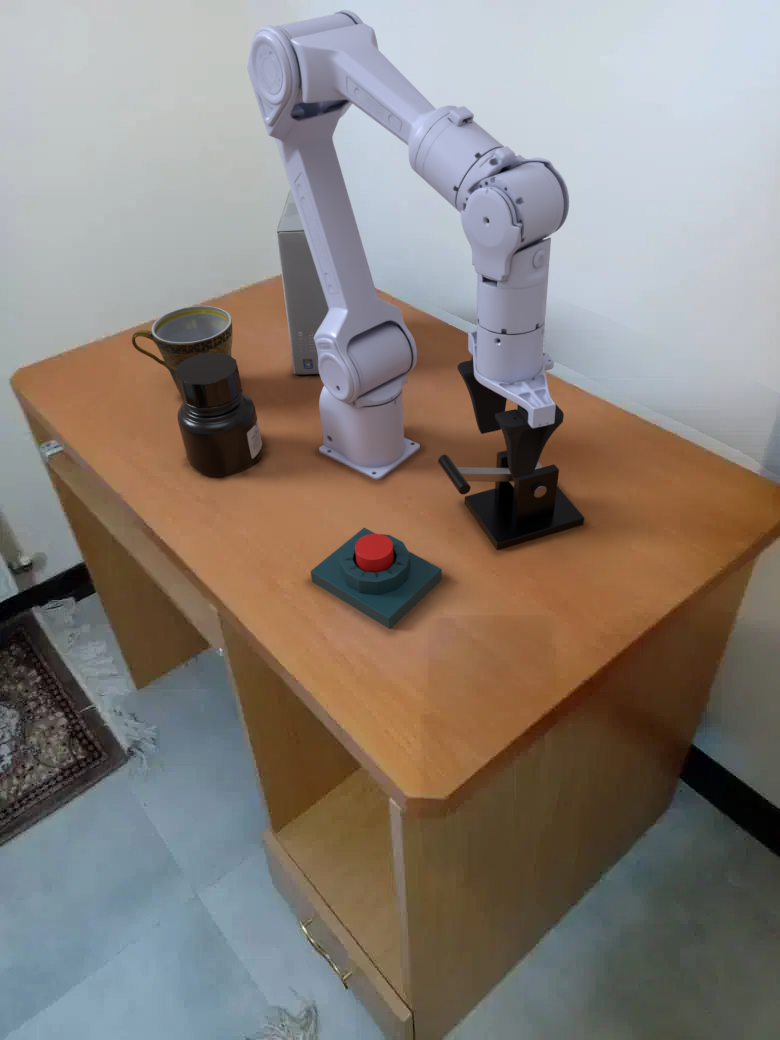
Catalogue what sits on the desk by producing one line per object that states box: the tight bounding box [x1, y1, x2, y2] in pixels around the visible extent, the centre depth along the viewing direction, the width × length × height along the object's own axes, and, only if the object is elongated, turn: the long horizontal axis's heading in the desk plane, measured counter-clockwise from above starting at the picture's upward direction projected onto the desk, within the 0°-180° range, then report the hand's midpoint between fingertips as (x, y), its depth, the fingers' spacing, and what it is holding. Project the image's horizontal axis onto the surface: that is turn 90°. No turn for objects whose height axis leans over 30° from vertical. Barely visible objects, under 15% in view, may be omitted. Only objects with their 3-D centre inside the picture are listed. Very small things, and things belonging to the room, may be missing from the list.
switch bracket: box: [464, 449, 585, 551], centre depth 82 cm, size 10×8×7 cm
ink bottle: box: [175, 353, 263, 477], centre depth 91 cm, size 10×9×12 cm
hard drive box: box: [276, 188, 329, 376], centre depth 107 cm, size 16×8×20 cm, turn 179°
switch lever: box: [437, 454, 543, 496], centre depth 79 cm, size 10×5×2 cm, turn 111°
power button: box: [355, 533, 394, 573], centre depth 75 cm, size 4×4×2 cm
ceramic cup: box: [131, 305, 233, 396], centre depth 102 cm, size 13×10×10 cm
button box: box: [310, 527, 443, 630], centre depth 77 cm, size 10×8×4 cm
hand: (505, 451), depth 75 cm, fingers open, 7 cm apart
